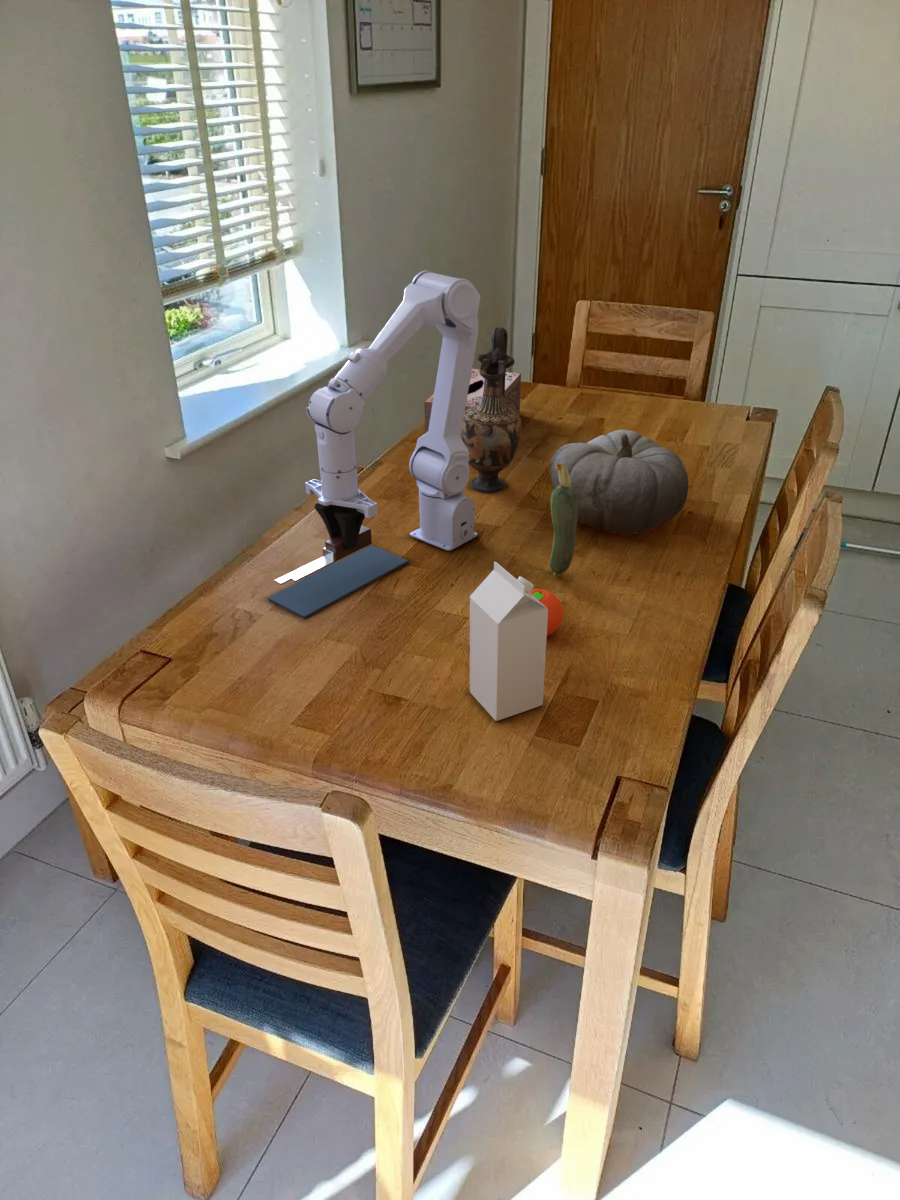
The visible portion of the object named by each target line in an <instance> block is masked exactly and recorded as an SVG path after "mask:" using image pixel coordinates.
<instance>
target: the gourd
mask: <svg viewBox="0 0 900 1200" xmlns="http://www.w3.org/2000/svg"><path fill="white" fill-rule="evenodd" d="M558 463H562V464H563V465H565V466H567V467H566V468H567V469H568V473H569V475H570V477H571V481H572V482H571V487H573V488H574V489H575V491H576V493H577V496H578V520H577V522H579V523H583V524H584V525H586V526H589V527H591V528H593V529H596V530H604V531H606V532H607V533H608V532H609V533H615V534H617V535H622V536H630V535H634V534H643V533H647V532H649V531H651V530H652V529H655V528H656V527H658V526H661V525H664V524H666V523H668V522H669V521H671V520H672V519H673V518H675V517H676V516H677V515H678V514H679V513H680V512H681V511H682V510H683V508H684V506H685V504H686V502H687V499H688V494H689V473H688V471H687V469H686V467H685V464H684V462H683V461H682V459H681V457H680V456H679V455H678V454H677V453H675V452H674V451H672V450H671V449H668V448H666V447H663V446H661V445H660V444H658V443H657V442H655V441H654V440H653V439H652V438H650V437H648V436H643V435H641V434H640V433H638V431H634V430H627V429H616V430H614V431H610V432H608V433H606V434H602V435H599V436H596V437H595V438H593V439H591V440H589V441H587V442H586V443H585V442H572V443H567V444H564V445H562V446H561V447H559V448H558V449H557V450H556V451H555V453H554V454H553V456H552V458H551V462H550V465H549V467H550V468H549V476H550V481H551V484H552V488H553V490H554V489H555V488H556V487H558V486H560V485H559V484H560V482H559V479H558V478H559V477H558V472H559V469H558V471H557V472H556V473H555V470H554V467H555V465H556V464H558Z"/></svg>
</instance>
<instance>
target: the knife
mask: <svg viewBox="0 0 900 1200" xmlns="http://www.w3.org/2000/svg"><path fill="white" fill-rule="evenodd" d="M324 542H325V543H324V547H322V556H321V557H319V558H317V559H315V560H312V561H311V562H308V563H306V564H305V565H302V566H299V568H297V569H295V570H293V571H291V572H288V573H286V574H284V575H282V576H280V577H278V578H276V579H274V580H273V581H274V583H276V584H278V585H280V586H282V585H285V584H286V583H288V582H290V581H293V582H294V583H297V582H299V581H301V580H303V579H305V578H307V577H309V576H311V575H313V574H315V573H317V572H319V571H321V570H323V569H325V568H327V567H329V566H331V565H333V564H335V563H337V562H339V561H341V560H343V559H345V558H347V557H349V556H351V555H353V554H355V553H357V552H359V551H361V550H363V549H365V548H367V547H369V546H371V545H373V539H372V528H370V527H368V526H366V525H363V524H362V525H361V528H360V532H359V536H358V541H357V546H356V547H354V548H352V549H350V550H346V549H345V547H344V544H343V539H342V534H340V535H338V536H336V537H334V538H332V539H331V538H330V539H327V540H325V541H324Z"/></svg>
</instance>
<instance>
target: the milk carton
mask: <svg viewBox="0 0 900 1200" xmlns="http://www.w3.org/2000/svg"><path fill="white" fill-rule="evenodd" d="M534 588H535V585H534V584H533V583H532V582H530V580H528V579H526V578H525V577H523V576H520V575H519V576H518V577H517V578H516V577H515V576H514V575H512V574H511V573H510V572H509V571H508V570H506V568H504V567H502V565H500V564H499V563H498V562H497V561H493V570H492V571H491V572H490V573H489V574H488V575H487V576H486V577H485V579H484V580H483V581H482V582H480V584H479V585H478V586H477V588H476V589H475V590H474V591H473V592H472V593H471V594H470V596H469V693H470V694H471V695H472V697H473V698H474V699H475V700H476V701H477V702H478V703H479V705H480V706H481V707H482V708H483V709H484V710H485V711H486V713H488V714H489V716H490V717H491V718H492V719H493V720H494V721H495V722H497V721H498V722H499V721H501V720H504V719H507V718H510V717H512V716H513V717H514V716H515V715H518V714H521V713H524V712H527V711H530V710H533V709H536V708H539V707H541V706H543V705H544V694H545V693H544V691H545V673H546V656H547V638H548V636H547V621H548V608H547V607H546V606H544V605H543V604H542V603H541V602H540V601H539V600H537V599H536V598H535V597H534V596H533V595H531V594H530V592H531V591H532V590H534Z"/></svg>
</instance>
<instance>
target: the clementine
mask: <svg viewBox="0 0 900 1200" xmlns="http://www.w3.org/2000/svg"><path fill="white" fill-rule="evenodd" d="M530 594H531V595H533V596H534V597H535V598H536V599H537V600H539V601H540V602H541V603H542V604H543V605H544V606H546V607H547V608H548V621H547V637H548V636H550V635H552V634H553V633H554V632H556V631H557V630H558V629H559V627H560V625H561V624H562V621H563V618H564V611H563V610H564V609H563V605H562V603H561V601H560V599H559V598H558V597H557V596H556V595H555V594H554V593H553V592H551V591H549V590H547V589H541V588H540V589H539V588H537V589H532V590H531V592H530Z"/></svg>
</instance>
